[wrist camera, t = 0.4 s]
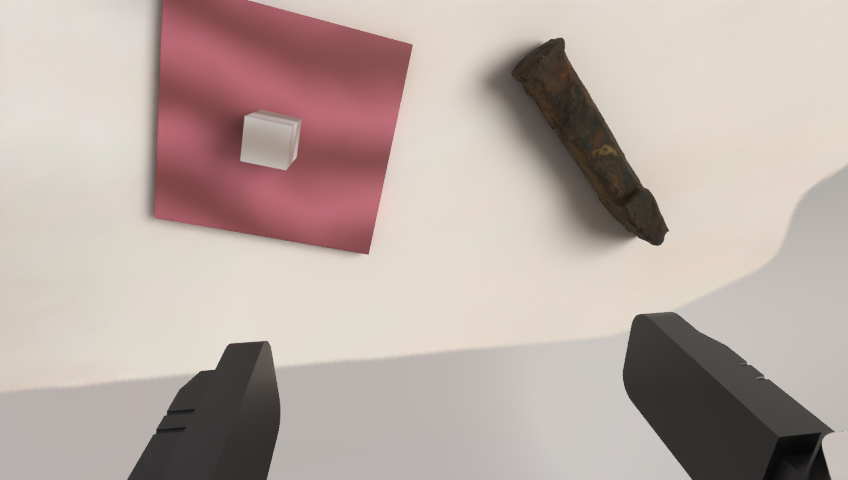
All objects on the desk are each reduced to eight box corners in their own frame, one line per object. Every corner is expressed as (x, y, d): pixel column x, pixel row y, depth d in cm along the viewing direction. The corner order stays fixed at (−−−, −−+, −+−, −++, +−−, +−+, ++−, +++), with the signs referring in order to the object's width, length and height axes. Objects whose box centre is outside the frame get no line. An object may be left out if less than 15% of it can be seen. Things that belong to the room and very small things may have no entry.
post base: (170, -20, 29) (127, -39, 23) (411, 45, 32) (419, 40, 26) (160, 213, 34) (123, 239, 29) (368, 249, 37) (368, 278, 32)
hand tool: (501, 69, 33) (521, 70, 29) (546, 35, 33) (573, 31, 28) (611, 251, 40) (640, 274, 36) (649, 225, 40) (684, 245, 35)
